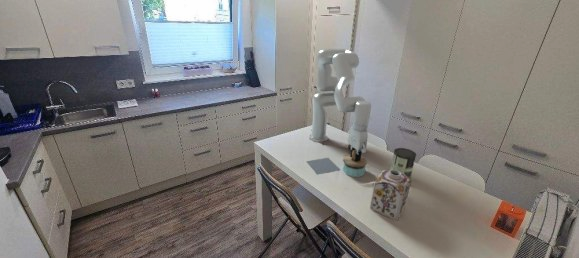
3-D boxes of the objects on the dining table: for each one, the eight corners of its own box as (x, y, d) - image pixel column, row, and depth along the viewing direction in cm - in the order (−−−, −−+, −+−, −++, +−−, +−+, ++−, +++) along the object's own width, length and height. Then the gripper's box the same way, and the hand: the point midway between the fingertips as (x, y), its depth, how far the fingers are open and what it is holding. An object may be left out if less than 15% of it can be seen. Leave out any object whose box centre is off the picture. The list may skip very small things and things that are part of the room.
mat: (306, 162, 141) (306, 161, 141) (328, 158, 146) (328, 157, 146) (317, 175, 129) (317, 174, 129) (340, 170, 134) (340, 169, 134)
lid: (338, 157, 134) (339, 147, 132) (357, 154, 138) (359, 144, 136) (351, 169, 124) (352, 158, 121) (371, 165, 128) (373, 154, 125)
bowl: (339, 168, 136) (339, 160, 134) (356, 165, 140) (357, 157, 138) (350, 179, 127) (351, 171, 125) (368, 175, 130) (369, 167, 128)
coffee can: (407, 172, 134) (413, 148, 129) (412, 183, 125) (418, 158, 120) (387, 169, 136) (392, 146, 131) (390, 180, 127) (396, 156, 121)
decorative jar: (379, 195, 115) (386, 161, 108) (405, 207, 109) (414, 171, 102) (368, 209, 107) (375, 173, 100) (396, 222, 100) (405, 184, 93)
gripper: (344, 121, 129) (340, 152, 136) (363, 133, 115) (358, 167, 122) (356, 119, 131) (352, 150, 139) (377, 131, 117) (371, 165, 124)
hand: (355, 158), depth 130 cm, fingers closed on lid, 3 cm apart
